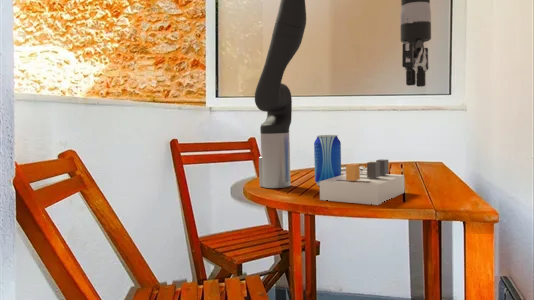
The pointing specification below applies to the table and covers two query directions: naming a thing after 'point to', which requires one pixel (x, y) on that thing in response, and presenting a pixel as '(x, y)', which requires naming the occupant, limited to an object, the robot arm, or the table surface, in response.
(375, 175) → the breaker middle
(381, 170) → the block
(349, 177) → the block
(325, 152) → the beer can
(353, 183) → the breaker panel
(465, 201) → the table surface
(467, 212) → the table surface
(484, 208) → the table surface
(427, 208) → the table surface
